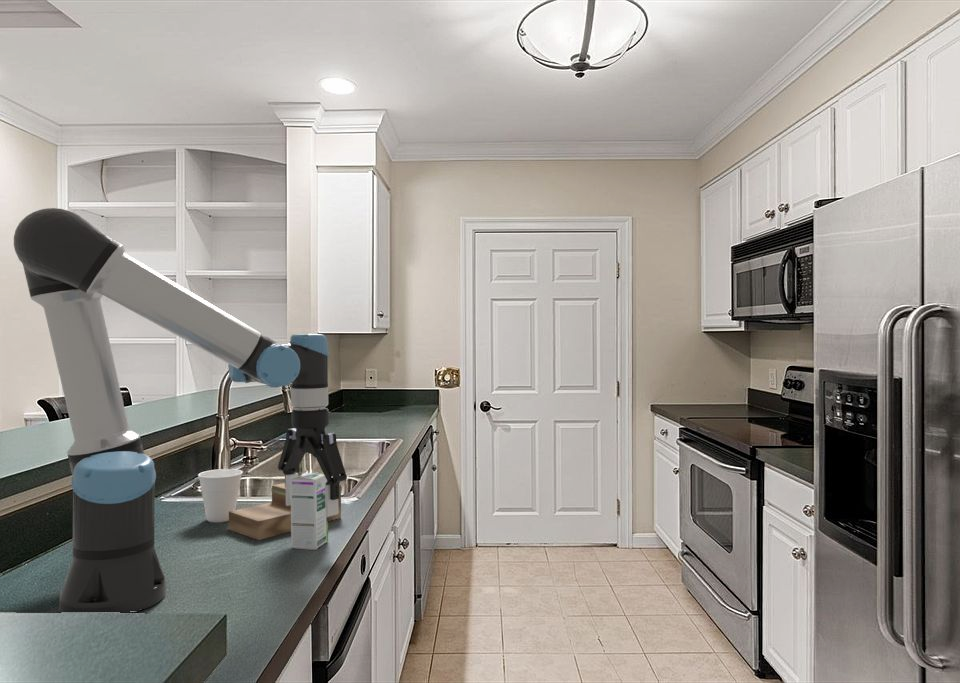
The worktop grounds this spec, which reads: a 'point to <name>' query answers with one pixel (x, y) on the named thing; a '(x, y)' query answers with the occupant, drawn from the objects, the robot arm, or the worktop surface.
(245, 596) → the worktop surface
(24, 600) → the worktop surface
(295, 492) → the syrup box
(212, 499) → the cup
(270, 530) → the step stand
